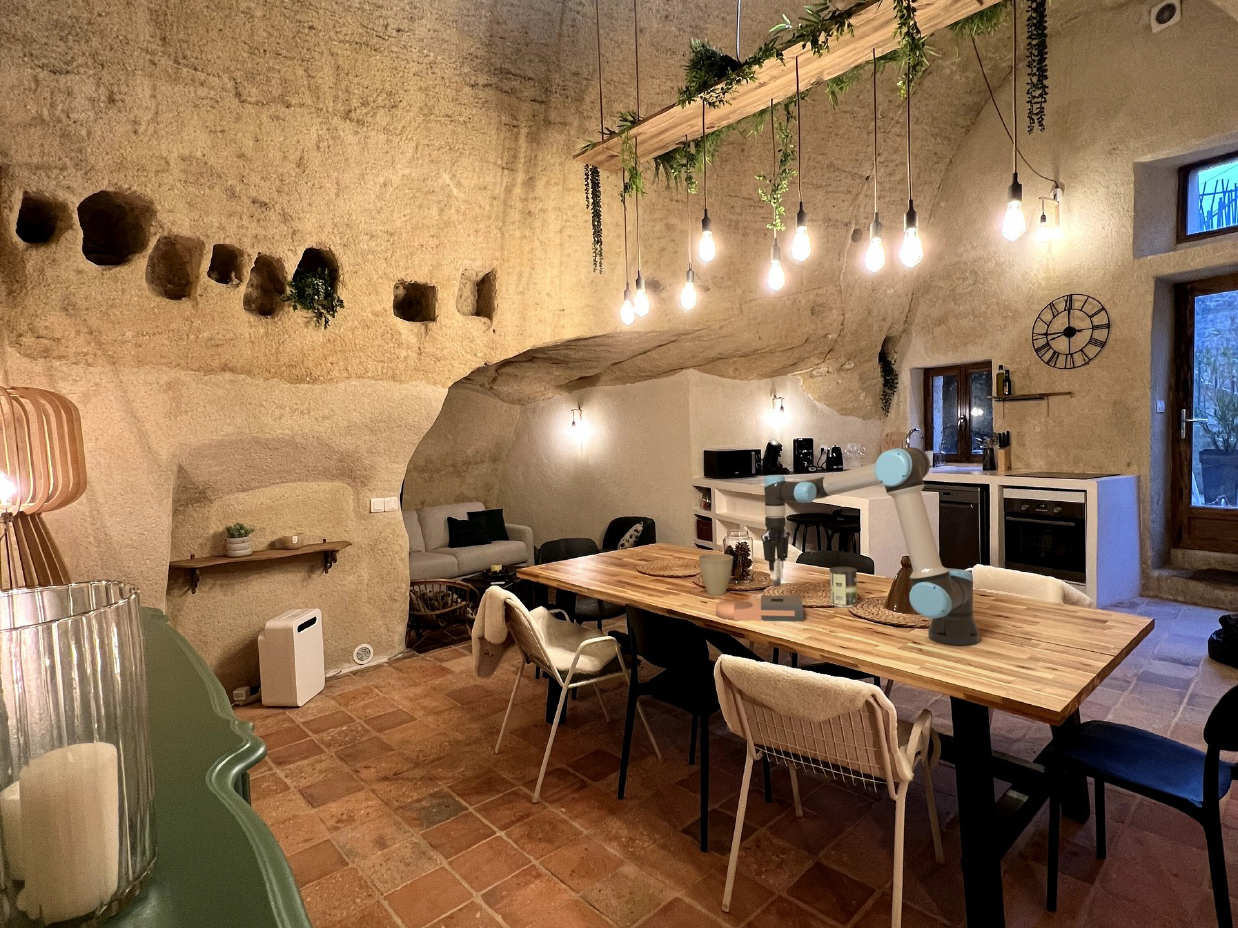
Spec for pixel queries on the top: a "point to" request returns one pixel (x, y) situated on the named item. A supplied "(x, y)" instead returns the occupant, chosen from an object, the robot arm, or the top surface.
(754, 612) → the knuckle link
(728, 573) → the plant pot
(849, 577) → the coffee can
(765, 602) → the clevis fork
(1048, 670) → the top surface
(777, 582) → the steel pin
